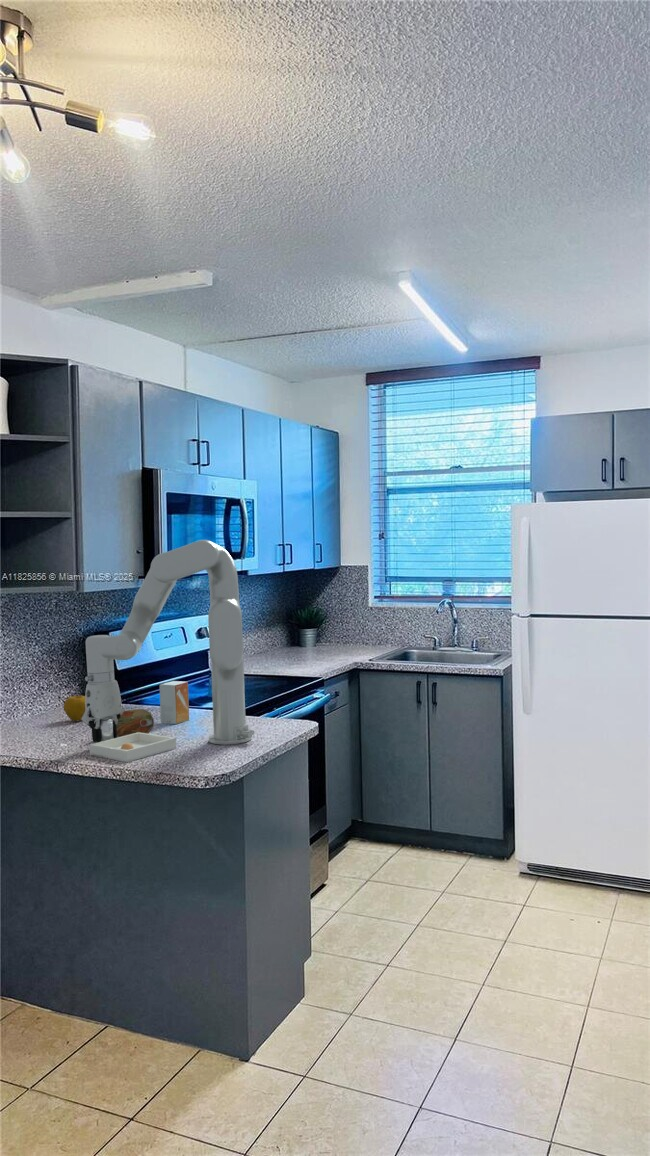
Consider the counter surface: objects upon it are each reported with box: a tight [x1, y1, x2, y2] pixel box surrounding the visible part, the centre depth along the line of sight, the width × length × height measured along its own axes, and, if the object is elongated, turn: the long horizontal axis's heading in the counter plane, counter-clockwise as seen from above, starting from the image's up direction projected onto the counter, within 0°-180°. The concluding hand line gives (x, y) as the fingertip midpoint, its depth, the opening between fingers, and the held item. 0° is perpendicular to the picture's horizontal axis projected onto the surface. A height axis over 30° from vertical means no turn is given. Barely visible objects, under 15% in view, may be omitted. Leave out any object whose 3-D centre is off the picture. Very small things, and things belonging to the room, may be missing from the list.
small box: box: [159, 680, 190, 725], centre depth 280 cm, size 8×6×13 cm
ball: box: [121, 743, 134, 750], centre depth 232 cm, size 4×4×4 cm
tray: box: [88, 732, 177, 763], centre depth 239 cm, size 16×18×3 cm
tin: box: [116, 708, 155, 738], centre depth 260 cm, size 15×3×8 cm, turn 101°
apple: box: [63, 694, 85, 722], centre depth 287 cm, size 9×9×9 cm
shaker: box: [95, 716, 114, 743], centre depth 245 cm, size 5×5×9 cm
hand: (104, 739), depth 246 cm, fingers closed on shaker, 5 cm apart
